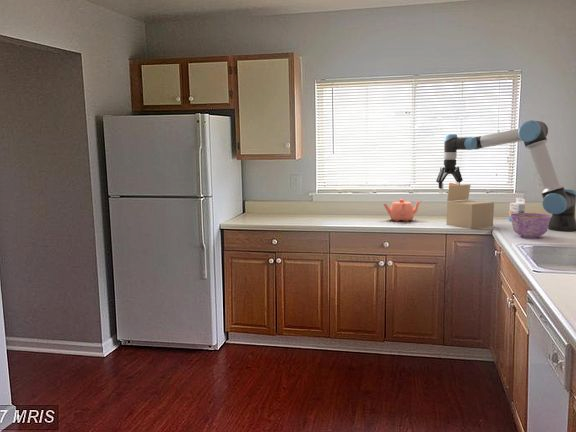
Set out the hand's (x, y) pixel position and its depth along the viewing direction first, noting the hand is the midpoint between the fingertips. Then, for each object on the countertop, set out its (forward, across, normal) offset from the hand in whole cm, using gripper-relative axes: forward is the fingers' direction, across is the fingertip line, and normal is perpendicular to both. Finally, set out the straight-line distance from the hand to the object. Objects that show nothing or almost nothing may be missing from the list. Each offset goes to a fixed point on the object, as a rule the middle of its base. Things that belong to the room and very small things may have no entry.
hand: (449, 192), depth 342 cm
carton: (+18, 0, +18) cm, 26 cm away
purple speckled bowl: (+19, +3, +62) cm, 65 cm away
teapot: (+19, +21, -19) cm, 34 cm away
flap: (-1, 0, +8) cm, 8 cm away
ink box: (+19, -37, +22) cm, 47 cm away
